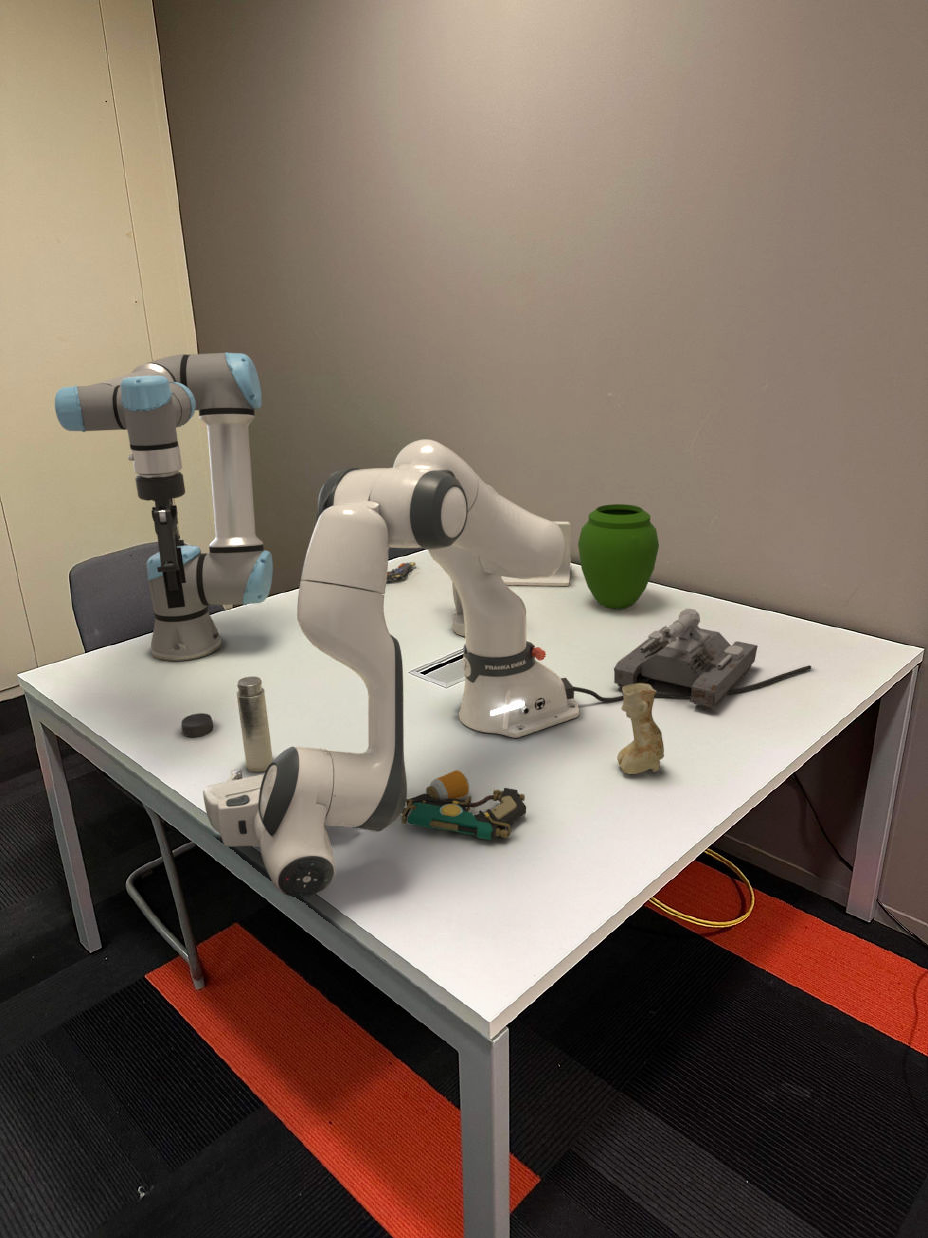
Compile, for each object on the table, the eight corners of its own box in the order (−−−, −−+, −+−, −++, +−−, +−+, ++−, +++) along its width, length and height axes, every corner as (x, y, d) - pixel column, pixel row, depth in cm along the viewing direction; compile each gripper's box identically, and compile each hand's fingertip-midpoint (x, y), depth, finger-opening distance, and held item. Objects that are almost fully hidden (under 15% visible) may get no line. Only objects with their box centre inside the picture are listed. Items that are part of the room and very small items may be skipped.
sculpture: (613, 761, 142) (616, 680, 137) (655, 758, 143) (660, 676, 138) (623, 780, 137) (627, 695, 132) (667, 776, 138) (672, 692, 132)
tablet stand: (569, 585, 229) (570, 524, 223) (476, 584, 232) (475, 523, 226) (570, 566, 246) (571, 508, 240) (484, 564, 249) (483, 507, 243)
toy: (664, 648, 187) (668, 583, 182) (755, 667, 176) (762, 599, 171) (612, 690, 168) (615, 619, 163) (711, 715, 157) (717, 639, 152)
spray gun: (537, 812, 130) (487, 868, 119) (446, 778, 138) (391, 827, 127) (539, 789, 129) (488, 844, 117) (446, 756, 137) (390, 804, 125)
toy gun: (364, 577, 233) (399, 574, 231) (383, 561, 251) (416, 558, 249) (366, 586, 234) (400, 583, 232) (384, 570, 252) (417, 567, 250)
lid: (208, 720, 161) (207, 710, 160) (217, 732, 157) (215, 721, 156) (179, 728, 159) (177, 718, 158) (186, 740, 154) (185, 729, 153)
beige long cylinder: (278, 764, 145) (268, 680, 140) (256, 775, 142) (245, 689, 136) (263, 756, 148) (252, 673, 142) (241, 766, 145) (229, 682, 139)
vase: (599, 587, 227) (601, 497, 218) (668, 600, 216) (673, 505, 208) (562, 608, 212) (564, 513, 204) (634, 623, 202) (639, 523, 193)
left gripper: (139, 462, 151) (157, 576, 159) (129, 489, 129) (151, 621, 136) (183, 459, 153) (199, 572, 161) (181, 485, 131) (200, 615, 138)
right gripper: (354, 777, 122) (331, 735, 134) (206, 810, 115) (197, 762, 127) (357, 815, 124) (335, 770, 136) (212, 849, 117) (203, 799, 129)
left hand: (177, 594), depth 149 cm, fingers open, 13 cm apart
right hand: (267, 767), depth 132 cm, fingers open, 8 cm apart
